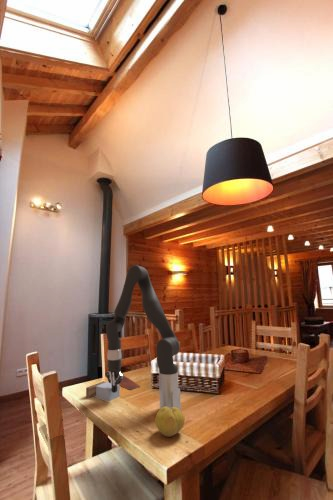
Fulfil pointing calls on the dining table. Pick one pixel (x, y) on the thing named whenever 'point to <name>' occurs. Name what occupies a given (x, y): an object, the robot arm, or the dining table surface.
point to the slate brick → (107, 392)
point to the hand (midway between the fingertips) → (114, 392)
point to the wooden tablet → (128, 383)
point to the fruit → (169, 421)
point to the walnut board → (92, 390)
